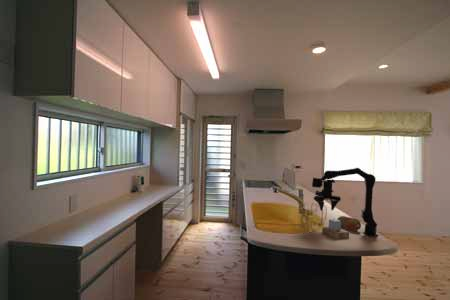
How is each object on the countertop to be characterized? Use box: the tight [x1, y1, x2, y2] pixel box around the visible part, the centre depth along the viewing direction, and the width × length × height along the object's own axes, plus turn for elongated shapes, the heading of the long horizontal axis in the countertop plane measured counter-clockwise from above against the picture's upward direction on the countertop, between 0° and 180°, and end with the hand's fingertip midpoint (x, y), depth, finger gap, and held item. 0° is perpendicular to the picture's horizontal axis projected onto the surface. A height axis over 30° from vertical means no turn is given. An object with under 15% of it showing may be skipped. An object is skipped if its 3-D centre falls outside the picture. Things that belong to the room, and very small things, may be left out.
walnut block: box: [321, 226, 350, 240], centre depth 151 cm, size 11×11×4 cm
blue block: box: [328, 218, 342, 231], centre depth 151 cm, size 5×5×6 cm
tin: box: [337, 215, 362, 232], centre depth 164 cm, size 15×3×8 cm, turn 45°
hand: (326, 210), depth 165 cm, fingers open, 9 cm apart
